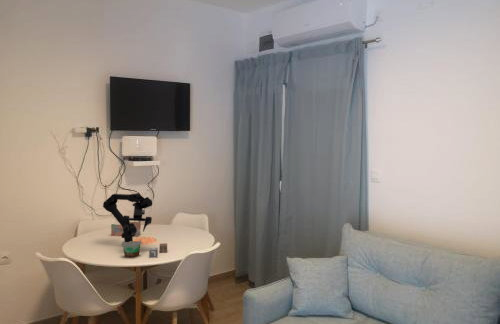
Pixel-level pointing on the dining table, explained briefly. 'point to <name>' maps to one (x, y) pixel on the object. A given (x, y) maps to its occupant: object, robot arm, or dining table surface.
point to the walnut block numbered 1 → (163, 248)
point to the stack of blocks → (118, 229)
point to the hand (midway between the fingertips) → (136, 231)
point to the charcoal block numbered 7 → (153, 252)
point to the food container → (131, 248)
